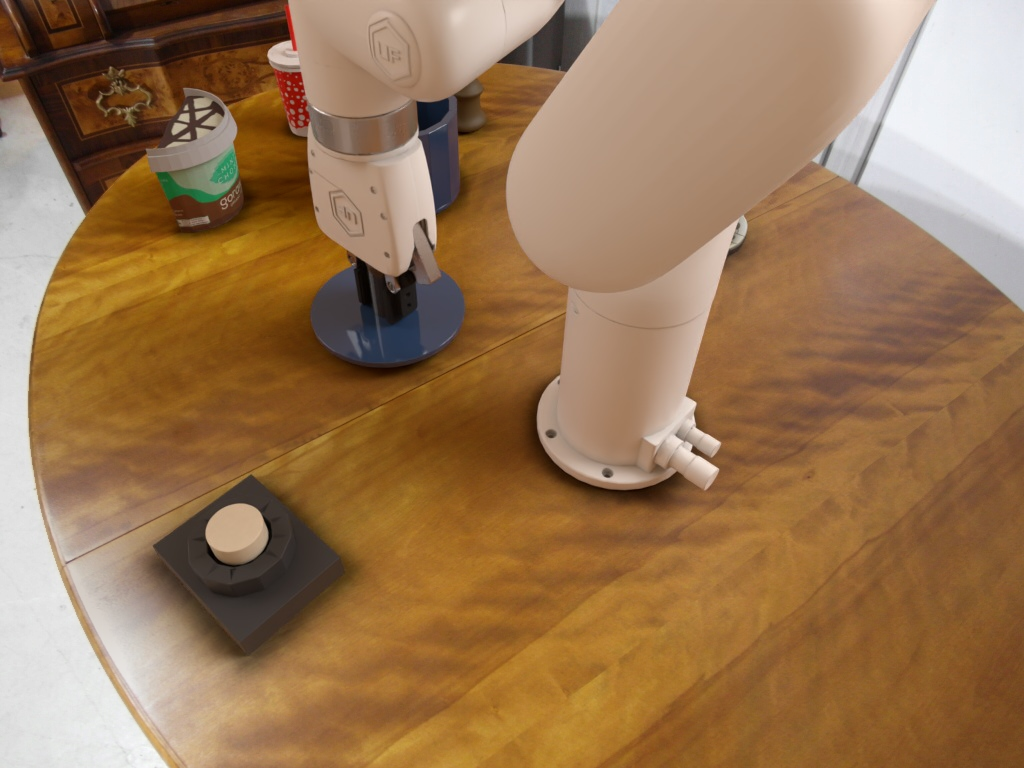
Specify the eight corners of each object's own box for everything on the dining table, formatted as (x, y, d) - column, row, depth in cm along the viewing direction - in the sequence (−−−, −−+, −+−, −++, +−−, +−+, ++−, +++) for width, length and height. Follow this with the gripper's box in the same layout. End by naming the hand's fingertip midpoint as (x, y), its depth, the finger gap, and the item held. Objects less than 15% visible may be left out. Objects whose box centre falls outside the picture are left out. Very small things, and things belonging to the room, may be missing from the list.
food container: (239, 243, 77) (211, 154, 70) (177, 241, 77) (143, 152, 70) (267, 173, 85) (246, 86, 78) (211, 171, 85) (184, 85, 78)
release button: (280, 539, 51) (274, 525, 50) (233, 576, 49) (226, 562, 48) (247, 507, 53) (241, 493, 51) (201, 542, 51) (193, 528, 50)
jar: (483, 185, 84) (482, 104, 77) (398, 238, 78) (388, 155, 71) (404, 142, 90) (397, 63, 83) (319, 188, 84) (302, 106, 76)
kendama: (473, 150, 89) (469, -36, 74) (420, 117, 94) (406, -64, 79) (511, 131, 92) (514, -51, 77) (457, 100, 96) (451, -77, 81)
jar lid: (496, 314, 70) (497, 256, 65) (383, 398, 63) (375, 340, 58) (394, 248, 76) (387, 190, 71) (281, 318, 69) (264, 260, 64)
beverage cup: (319, 108, 95) (298, -12, 84) (346, 128, 92) (327, 7, 81) (274, 124, 92) (246, 2, 82) (300, 146, 89) (274, 22, 79)
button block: (345, 572, 54) (336, 543, 51) (248, 656, 49) (232, 630, 46) (258, 490, 58) (245, 459, 55) (162, 561, 54) (142, 531, 51)
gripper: (250, 93, 56) (296, 284, 70) (403, 183, 49) (421, 375, 63) (331, 58, 60) (360, 246, 74) (484, 138, 53) (484, 328, 67)
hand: (388, 304), depth 68 cm, fingers closed on jar lid, 2 cm apart
